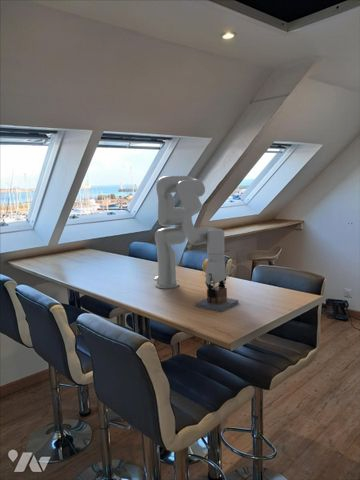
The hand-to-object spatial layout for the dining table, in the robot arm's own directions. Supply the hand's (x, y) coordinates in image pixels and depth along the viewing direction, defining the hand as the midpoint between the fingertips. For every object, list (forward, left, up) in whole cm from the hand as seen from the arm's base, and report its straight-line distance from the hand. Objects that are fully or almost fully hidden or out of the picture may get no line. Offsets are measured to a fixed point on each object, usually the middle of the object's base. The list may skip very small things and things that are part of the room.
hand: (216, 294), depth 166 cm
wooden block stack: (0, 0, -3) cm, 3 cm away
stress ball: (-34, +47, -5) cm, 58 cm away
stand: (0, 0, -5) cm, 5 cm away
